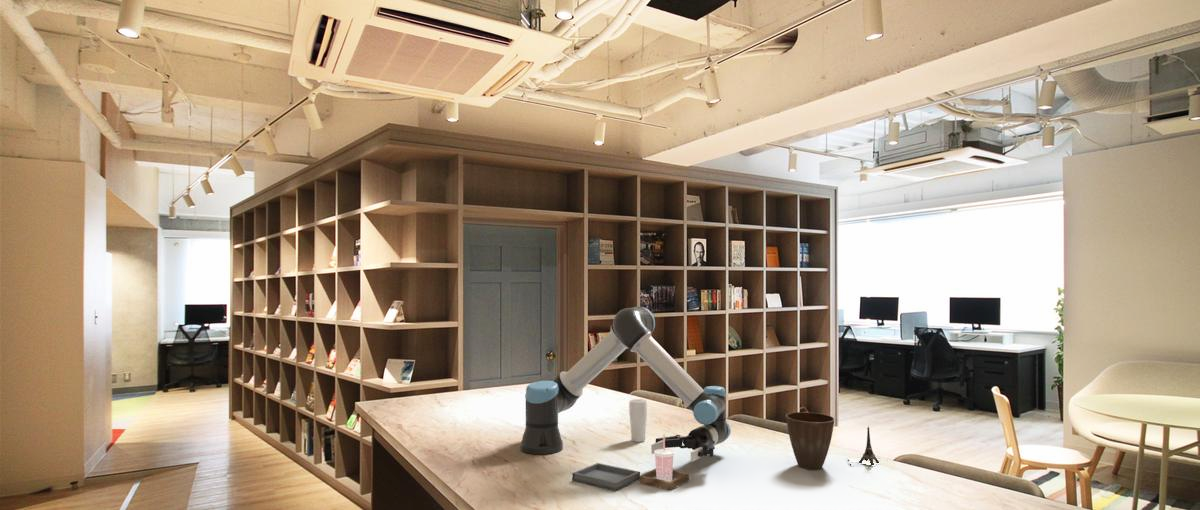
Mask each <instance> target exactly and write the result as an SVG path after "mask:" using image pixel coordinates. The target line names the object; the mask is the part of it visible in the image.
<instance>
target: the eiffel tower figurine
mask: <svg viewBox="0 0 1200 510" xmlns="http://www.w3.org/2000/svg"><path fill="white" fill-rule="evenodd" d="M866 429H867V432H866V433H867V437H866V446H865V450H864V453H863V454H862V457H861V460H860V461H859V463H862V461H863V460H866V461H867V459H869V460H868V461H870V463H871V465H874V463H873V462H876V463H879V462H880V460H877V459H878V458H877V457H876V455H875V454H874V451H873V447H872V444H871V436H870V435H871V434H870V426H867V428H866ZM887 461H889V460H888V459H887ZM887 461H886V462H887ZM859 463H858V464H859Z"/></svg>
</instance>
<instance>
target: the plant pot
mask: <svg viewBox="0 0 1200 510" xmlns="http://www.w3.org/2000/svg"><path fill="white" fill-rule="evenodd" d="M785 419H786V426H787V431H788V435H789V436H788V437H789V441H790V444H791V448H792V451H793V455H794V458H795V461H796V463H797V465H798V467H799V468H802V469H806V470H811V471H812V470H815V471H816V470H821V469H822V468H823V466H824V463H825V461H826V459H827V455H828V453H829V449H830V445H831V441H832V438H833V437H832V436H833V431H834V427H835V426H834V424H835V418H834V416H831V415H828V414H824V413H818V412H809V411H807V412H806V411H798V412H797V411H795V412H789V413H787V414H785Z"/></svg>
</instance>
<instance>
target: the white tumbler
mask: <svg viewBox="0 0 1200 510" xmlns="http://www.w3.org/2000/svg"><path fill="white" fill-rule="evenodd" d="M628 401H629V403H628V405H629V407H628V408H629V409H628V413H629V424H630V434H631V435H630V436H631V437H630V438H631V441H632V442H633V443H634V442H635V443H642V442H645V441H646V433H647V432H646V431H647V430H646V429H647V421H648V420H647V419H648V401H647V399H642V398H633V399H630V400H628Z"/></svg>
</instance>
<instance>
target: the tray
mask: <svg viewBox="0 0 1200 510" xmlns="http://www.w3.org/2000/svg"><path fill="white" fill-rule="evenodd" d="M571 476H572V478H571V480H572V482H576V483H581V484H584V485H589V486H593V487H597V488H601V489H605V490H609V491H614V492H617V491H620V490H621V489H624V488H625V487H628V486H630V485H631V484H634V483H636V482H639V476H641V471H638V470H633V469H629V468H624V467H618V466H614V465H610V464H606V463H605V464H604V463H601V462H596V463H594V464H591V465H589V466H587V467H584V468H581V469H580V470H579V469H578V470H576V471H574V472H572V475H571Z"/></svg>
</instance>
